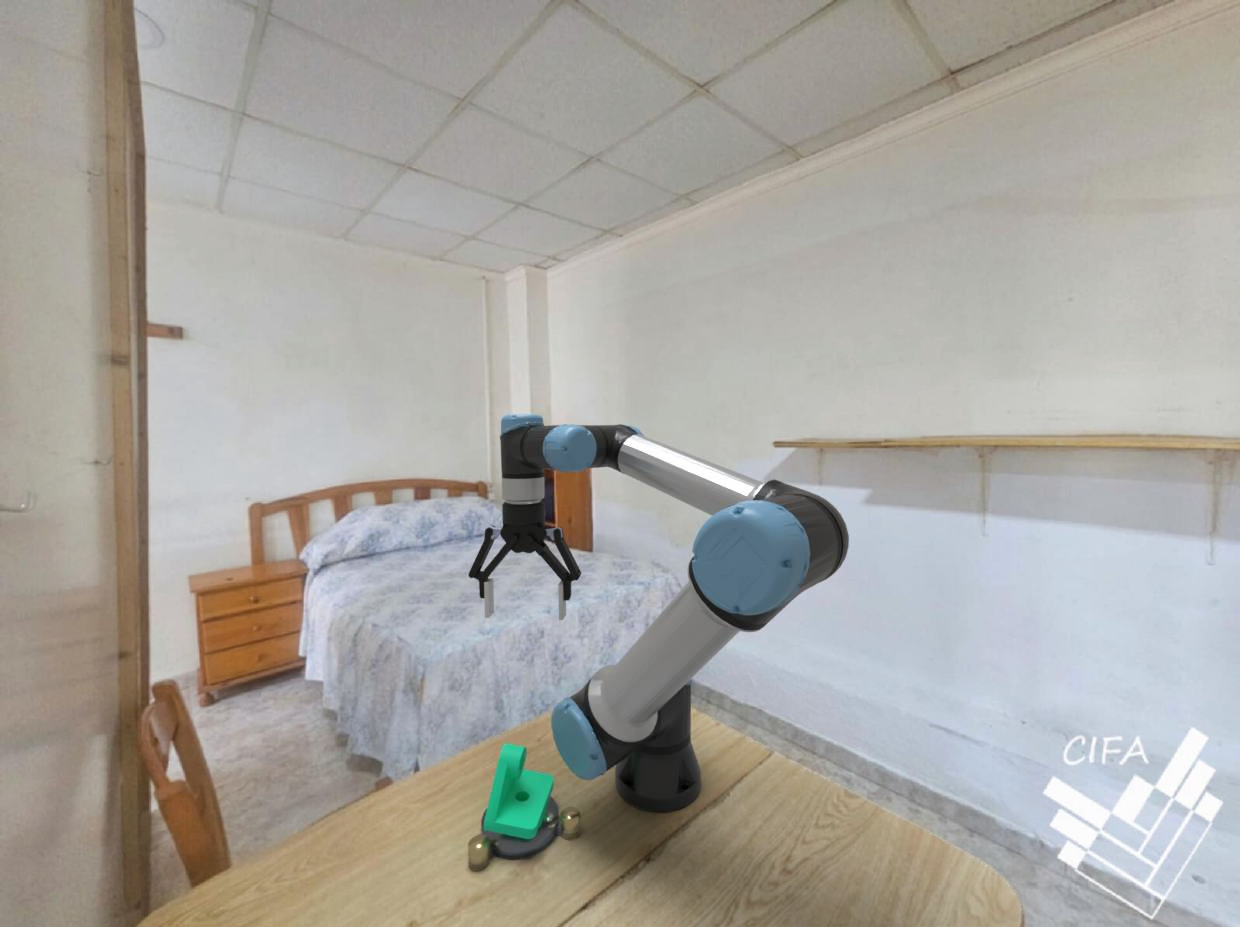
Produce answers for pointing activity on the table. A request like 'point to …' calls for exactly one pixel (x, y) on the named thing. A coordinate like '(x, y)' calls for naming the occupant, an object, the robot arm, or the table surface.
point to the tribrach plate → (520, 848)
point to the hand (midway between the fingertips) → (525, 616)
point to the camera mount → (517, 796)
